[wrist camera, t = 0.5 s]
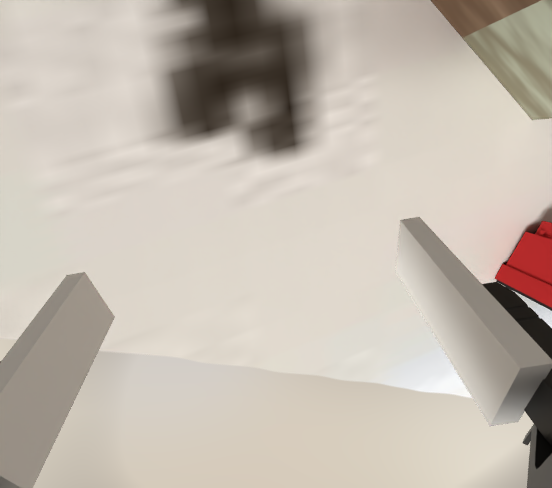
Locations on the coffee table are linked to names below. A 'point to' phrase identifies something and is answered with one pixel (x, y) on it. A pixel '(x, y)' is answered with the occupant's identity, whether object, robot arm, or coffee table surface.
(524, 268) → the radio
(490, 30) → the stand
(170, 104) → the coffee table surface
